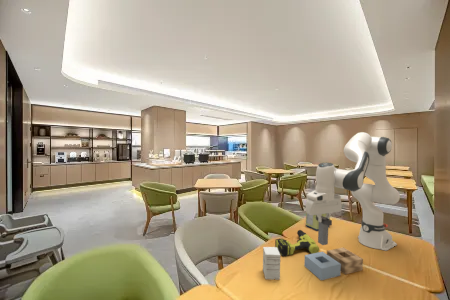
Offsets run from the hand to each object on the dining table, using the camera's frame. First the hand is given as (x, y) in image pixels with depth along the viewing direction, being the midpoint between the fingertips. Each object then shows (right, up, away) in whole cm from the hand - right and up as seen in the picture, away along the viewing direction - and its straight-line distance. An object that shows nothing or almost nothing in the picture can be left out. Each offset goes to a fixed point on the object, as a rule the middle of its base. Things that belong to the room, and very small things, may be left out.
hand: (323, 221), depth 107 cm
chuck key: (0, -12, +1) cm, 12 cm away
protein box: (+22, -24, +56) cm, 65 cm away
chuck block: (0, -26, +1) cm, 26 cm away
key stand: (+14, -26, +6) cm, 30 cm away
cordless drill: (-7, -25, +27) cm, 38 cm away
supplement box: (-27, -26, -2) cm, 38 cm away
